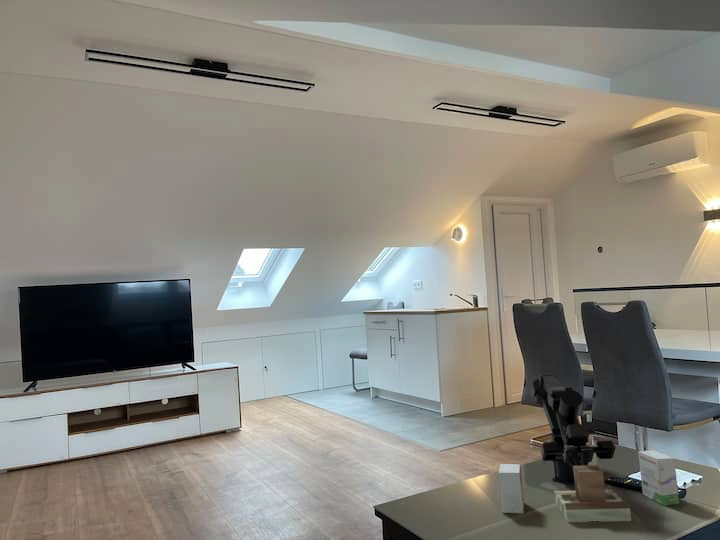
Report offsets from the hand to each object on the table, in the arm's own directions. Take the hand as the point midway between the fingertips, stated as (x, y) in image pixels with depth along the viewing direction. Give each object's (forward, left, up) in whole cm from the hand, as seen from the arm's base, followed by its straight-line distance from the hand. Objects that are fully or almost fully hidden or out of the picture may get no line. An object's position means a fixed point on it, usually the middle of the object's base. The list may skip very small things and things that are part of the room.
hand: (585, 479), depth 137 cm
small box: (-15, -12, -7) cm, 21 cm away
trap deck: (+1, -1, -7) cm, 8 cm away
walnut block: (+2, -2, -4) cm, 5 cm away
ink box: (+10, +18, -7) cm, 22 cm away
